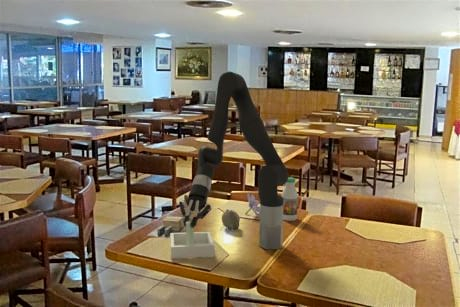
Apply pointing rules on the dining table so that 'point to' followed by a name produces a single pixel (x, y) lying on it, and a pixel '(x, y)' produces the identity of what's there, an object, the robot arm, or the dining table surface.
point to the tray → (199, 249)
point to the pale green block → (189, 233)
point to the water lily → (253, 205)
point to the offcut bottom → (174, 226)
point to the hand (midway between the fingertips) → (189, 226)
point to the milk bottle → (290, 200)
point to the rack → (166, 230)
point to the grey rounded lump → (230, 219)
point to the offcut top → (172, 221)
